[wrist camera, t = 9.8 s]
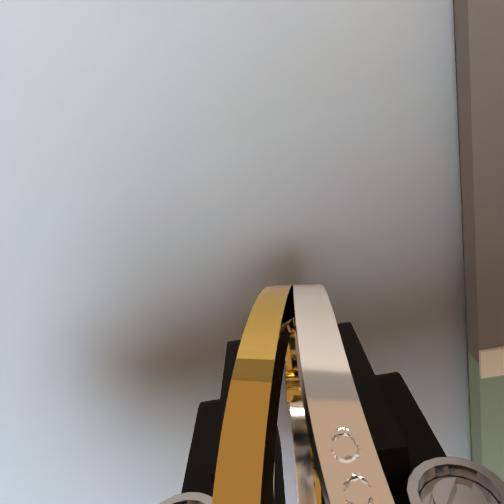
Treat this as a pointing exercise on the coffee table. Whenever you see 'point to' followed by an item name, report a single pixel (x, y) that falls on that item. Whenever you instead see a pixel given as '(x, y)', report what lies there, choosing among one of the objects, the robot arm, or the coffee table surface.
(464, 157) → the board
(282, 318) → the ring
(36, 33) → the coffee table surface
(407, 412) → the robot arm
